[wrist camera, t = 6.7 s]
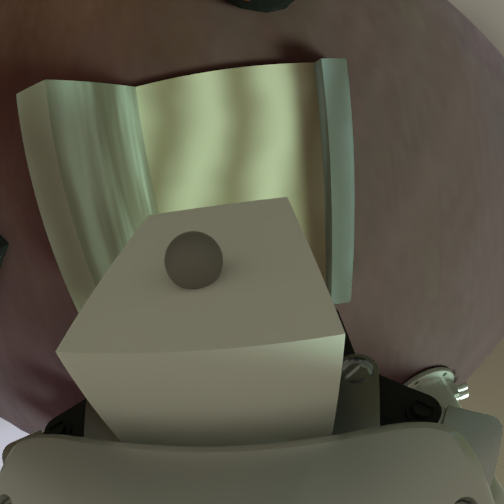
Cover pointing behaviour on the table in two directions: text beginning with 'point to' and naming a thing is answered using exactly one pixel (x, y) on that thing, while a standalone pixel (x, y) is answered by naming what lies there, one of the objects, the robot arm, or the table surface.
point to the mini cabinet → (211, 332)
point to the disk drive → (2, 248)
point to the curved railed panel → (191, 159)
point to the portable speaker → (261, 4)
